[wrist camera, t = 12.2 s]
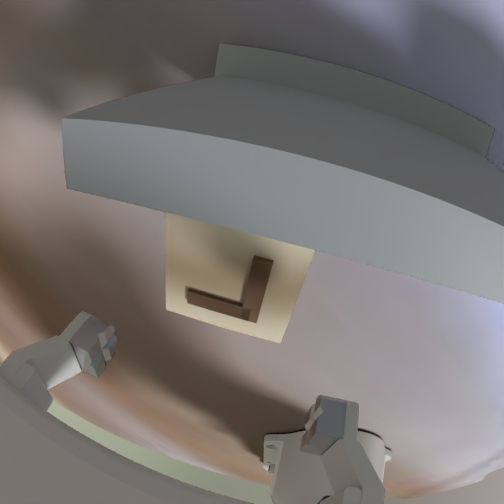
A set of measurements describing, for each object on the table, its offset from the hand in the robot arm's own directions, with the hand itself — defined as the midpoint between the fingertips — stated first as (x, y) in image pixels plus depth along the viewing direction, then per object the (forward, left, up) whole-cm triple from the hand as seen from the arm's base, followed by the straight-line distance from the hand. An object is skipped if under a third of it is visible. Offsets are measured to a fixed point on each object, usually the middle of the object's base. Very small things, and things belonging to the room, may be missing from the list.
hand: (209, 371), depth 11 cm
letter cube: (+1, 0, -10) cm, 10 cm away
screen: (+8, -4, -11) cm, 14 cm away
